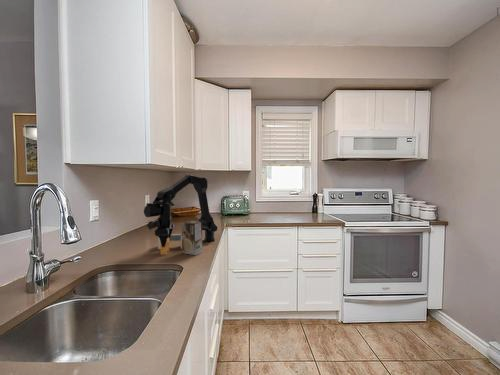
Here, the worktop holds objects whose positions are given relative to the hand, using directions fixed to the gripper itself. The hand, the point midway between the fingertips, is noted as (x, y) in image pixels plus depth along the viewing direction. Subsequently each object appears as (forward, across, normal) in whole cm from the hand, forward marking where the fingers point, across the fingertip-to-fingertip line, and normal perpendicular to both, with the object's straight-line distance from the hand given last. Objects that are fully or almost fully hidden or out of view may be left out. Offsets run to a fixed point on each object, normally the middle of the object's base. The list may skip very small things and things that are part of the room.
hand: (165, 244), depth 134 cm
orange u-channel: (+4, 0, 0) cm, 4 cm away
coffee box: (+4, +2, +14) cm, 15 cm away
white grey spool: (+4, -10, +3) cm, 11 cm away
